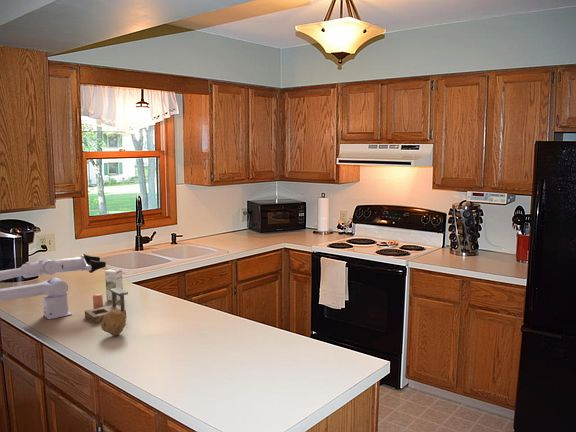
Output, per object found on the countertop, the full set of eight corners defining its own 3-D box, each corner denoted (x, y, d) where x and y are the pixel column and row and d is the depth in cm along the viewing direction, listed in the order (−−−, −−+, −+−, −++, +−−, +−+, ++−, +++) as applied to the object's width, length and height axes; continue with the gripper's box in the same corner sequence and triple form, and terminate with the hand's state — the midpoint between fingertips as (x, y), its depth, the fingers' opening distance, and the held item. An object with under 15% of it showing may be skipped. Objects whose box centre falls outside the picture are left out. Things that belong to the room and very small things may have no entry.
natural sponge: (100, 341, 193) (99, 315, 192) (102, 332, 202) (101, 308, 200) (126, 338, 196) (125, 312, 194) (127, 330, 204) (125, 305, 203)
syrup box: (124, 298, 248) (122, 268, 246) (116, 301, 242) (115, 271, 240) (113, 297, 249) (111, 267, 247) (106, 300, 243) (104, 270, 242)
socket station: (94, 324, 212) (92, 299, 210) (84, 317, 220) (83, 293, 218) (129, 316, 221) (128, 292, 220) (119, 310, 229) (118, 287, 228)
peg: (95, 312, 227) (94, 296, 226) (92, 310, 230) (91, 294, 229) (104, 310, 229) (103, 295, 228) (101, 308, 232) (100, 293, 231)
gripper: (76, 260, 218) (108, 257, 227) (66, 251, 229) (97, 249, 238) (75, 276, 220) (108, 273, 228) (65, 266, 231) (96, 263, 239)
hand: (102, 261), depth 233 cm, fingers open, 7 cm apart
